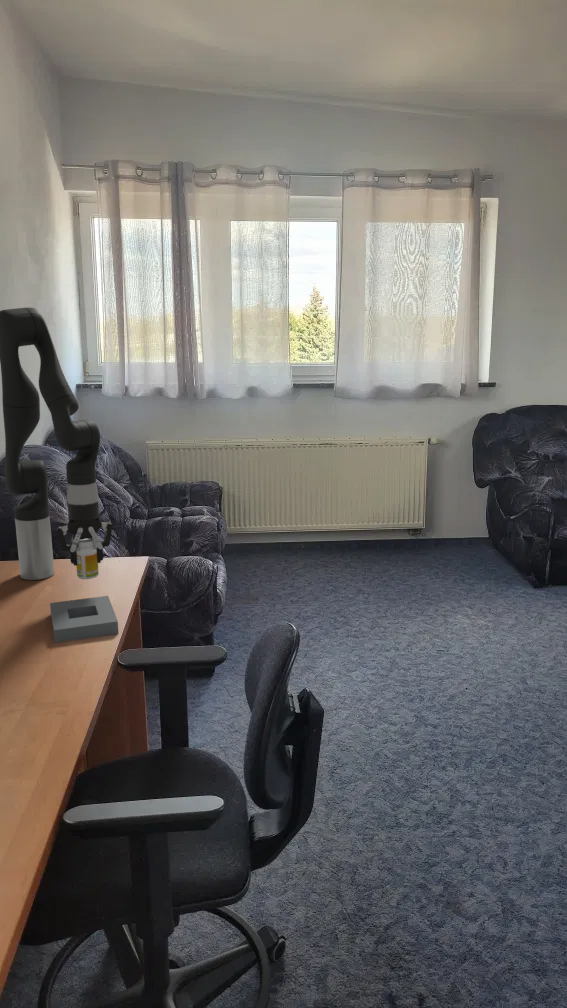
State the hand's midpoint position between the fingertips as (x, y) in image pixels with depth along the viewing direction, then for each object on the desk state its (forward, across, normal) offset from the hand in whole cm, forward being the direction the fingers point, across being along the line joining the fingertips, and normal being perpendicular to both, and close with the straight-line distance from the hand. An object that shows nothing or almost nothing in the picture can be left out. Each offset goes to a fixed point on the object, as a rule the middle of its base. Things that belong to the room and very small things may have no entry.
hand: (87, 563), depth 186 cm
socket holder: (+9, -3, -17) cm, 20 cm away
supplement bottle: (+4, 0, 0) cm, 4 cm away
